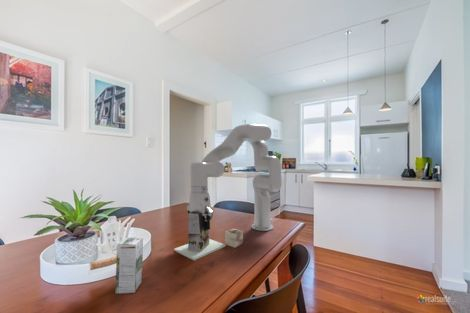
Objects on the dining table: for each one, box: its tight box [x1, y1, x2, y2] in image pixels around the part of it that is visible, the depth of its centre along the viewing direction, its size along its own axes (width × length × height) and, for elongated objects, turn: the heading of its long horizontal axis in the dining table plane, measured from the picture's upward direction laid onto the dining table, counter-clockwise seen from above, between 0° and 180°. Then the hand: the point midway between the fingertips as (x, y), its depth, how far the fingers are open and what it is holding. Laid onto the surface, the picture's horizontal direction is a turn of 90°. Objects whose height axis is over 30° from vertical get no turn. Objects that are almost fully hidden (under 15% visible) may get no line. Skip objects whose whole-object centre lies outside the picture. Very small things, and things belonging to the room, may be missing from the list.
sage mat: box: [173, 238, 226, 261], centre depth 92 cm, size 18×14×1 cm
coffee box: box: [187, 211, 210, 252], centre depth 92 cm, size 9×6×16 cm
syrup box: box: [114, 237, 144, 295], centre depth 64 cm, size 6×6×14 cm
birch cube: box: [224, 228, 244, 249], centre depth 98 cm, size 6×6×6 cm
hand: (199, 227), depth 92 cm, fingers open, 9 cm apart
